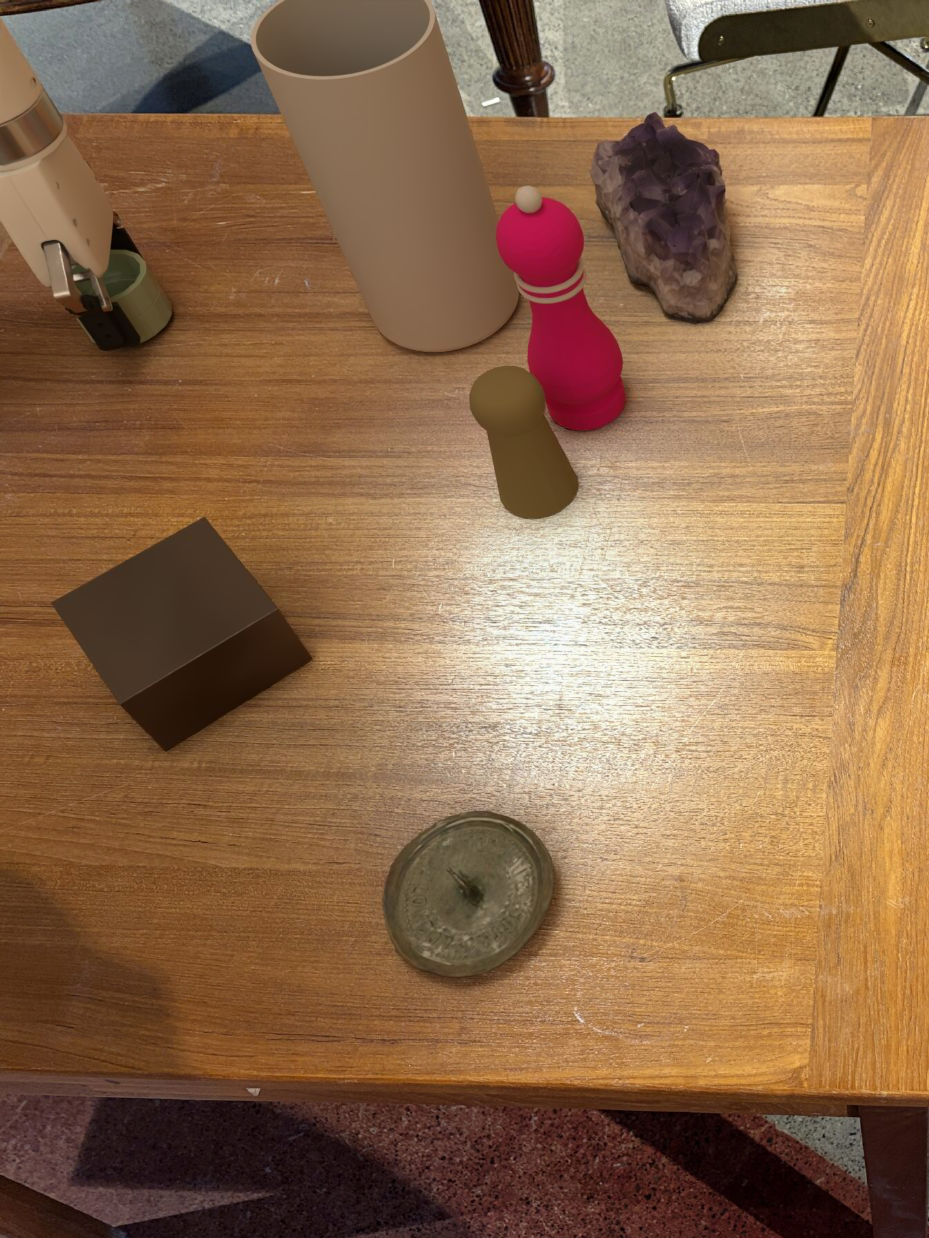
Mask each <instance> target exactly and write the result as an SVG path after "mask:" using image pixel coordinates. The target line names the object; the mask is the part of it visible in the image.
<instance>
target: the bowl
mask: <svg viewBox="0 0 929 1238" xmlns="http://www.w3.org/2000/svg"><path fill="white" fill-rule="evenodd" d="M142 257H143V256H142ZM142 257H141V256H140V255H139V254H137V253H134V252H131V251H128V250H110V255H109V262H108V267H107V270H106V271H105V273H104V275H103V276H102V278H103V280H104V283H105V286H106V289H107V291H108V294H109V297H110V300H111V303H112V302H118V304H119V305H120V307H121V308H122V310H123V311H124V313H125V314H126V316H127V317H128V319H129V320H130V322H131V323H132V325H133V326H134V328H135V329H136V331H137V332H138V334H139V335H140V337H141V339H140V344H142V343H144V342H147V341H149V340H151V339H152V338H154V337H155V336H156V335H157V334H159V333H160V332H161V331H162V330H163V329H164V328H165V327H166V326H167V325H168V323H169V321H170V320H171V317H172V315H173V308H172V302H171V301H170V300H169V298H168V296H167V294H166V293H165V292H164V290H163V287H161V285H160V283H159V282H158V280H157V278H156V277H155V275H154V273H153V272H152V270H151V269H150V266H149V265H148V263H147V262H146V260H145V259H144V260H145V261H144V260H143V258H144V257H143V258H142ZM71 267H72V273H73V274H74V273H80V272H85V271H89V269H85V268H84V267H83V266H81V265H75V266H71ZM75 285H76V287H77V289H78V290H79V291H81V294H82V295H86V294H88V295H92V296H96V294H95V291H94V289H93V286H92V283H91V280H89V281H84V282H79V283H75ZM74 319H75V320H76V322H77V323H78V325H79V327H80V328H81V329H82V331H83V332H84V333H85V335H86V336H87V337H88V339H89V340H90V341H91V342H92V343H93V344H96V343H95V341H94V340H93V338H92V337H91V336H90V334H89V333H88V331H87V330H86V329H85V327H84V326H83V324H82V323H81V322H80V320H79V319H78V318H75V317H74Z"/></svg>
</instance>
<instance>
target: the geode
mask: <svg viewBox="0 0 929 1238" xmlns="http://www.w3.org/2000/svg"><path fill="white" fill-rule="evenodd" d="M720 158H721V157H720V153H719V152H718V151H717V150H716V148H712V149H710V148H709V147H708V146H707V145H705V144H704V143H703V142H700V141H698V140H693V139H689V138H688V137H687V136H686V135H685V134H683V133H682V132H681V131H679V128H678V126H676V125H675V124H671V125H669V126H668V125H667V126H665V123H664V120H663V118H662V116H661V115H659V113H657V112H656V111H652V112H651V113H649V114H647V115H646V117H645V118H644V121H643V122H642V123H639V124H637V125H635V126H633V127H632V128H630V130H629V131H628V133H626V135H624V136H623V137H622V138H621V139H620V140H604V141H601V142H599V143H598V144H597V145H596V148H595V151H594V153H593V158H592V162H591V168H590V169H589V175H590V177H591V180H592V183H593V185H594V191H595V204H596V206H597V208H598V209H599V211H600V214H601V216H602V218H604V220H605V221H606V222H608V224H609V225H610V226H611V228H612V229H614V235H615V238H616V242H617V249H618V250H619V251H620V253H621V257H622V260H623V263H624V266H625V271H626V274H627V277H628V279H629V281H630V282H632V283H635V284H638V285H643V286H647V287H648V288H649V289H650V290H651V291H652V292H653V293H654V294H655V296H656V297H657V300H658V303H659V306H660V307H661V310H662V312H663V313H664V315H665V316H666V317H667V319H672V320H677V321H681V322H686V323H691V324H697V323H709V322H711V321H713V320H714V319H715V318H716V317H717V316H718V315H719V314H720V313H721V311H722V310H723V308H724V307H725V305H726V304H727V303H728V300H729V298H730V296H731V294H732V292H733V290H734V289H735V287H736V285H737V281H738V275H739V273H738V270H737V267H736V265H735V264H736V263H735V253H734V249H733V246H732V245H731V234H732V231H731V225H730V223H729V221H728V213H729V212H728V209H727V207H726V203H727V199H726V189H727V188H726V187H727V186H726V183H725V179H724V178H723V169H722V165H721V164H720V160H721V159H720Z"/></svg>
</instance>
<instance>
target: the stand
mask: <svg viewBox="0 0 929 1238" xmlns="http://www.w3.org/2000/svg"><path fill="white" fill-rule="evenodd" d="M50 604H51V606H52V607H53V608H54V610H55V611H56V613H57V615H58V616H59V618H60V619H61V620H62V622H63V623H64V625H65V626H66V628H67V630H68V631H69V632H70V634H71V635H72V637H73V638H74V640H75V641H76V643H77V644H78V646H79V647H80V648H81V650H82V652H83V653H84V654H85V656H86V657H87V659H88V661H89V662H90V663H91V665H92V667H94V670H95V671H96V672H97V674H98V675H99V677H100V678H101V680H102V681H103V682H104V684H105V686H106V687H107V689H108V690H109V691H110V693H111V695H112V696H113V698H114V699H115V701H116V702H117V704H118V705H119V706H120V707H121V708H122V709H123V710H124V711H125V713H127V714H128V715H129V716H130V717H131V718H132V719H133V720H134V721H135V723H136V724H137V725H139V727H141V729H143V731H144V732H145V733H146V734H147V735H148V736H149V737H150V738H151V739H152V740H153V741H154V742H155V743H156V744H157V745H158V746H159V747H160V748H161V749H162V750H163V751H164V752H167V751H169V750H171V749H172V748H174V747H176V746H177V745H179V744H180V743H182V742H183V741H185V740H187V739H188V738H190V737H191V736H193V735H195V734H197V733H198V732H199V731H201V730H203V729H204V728H206V727H208V726H209V725H211V724H212V723H214V722H216V721H218V720H219V719H220V718H222V717H223V716H225V715H227V714H229V713H231V712H232V711H233V710H235V709H236V708H238V707H239V706H241V705H242V704H244V703H247V701H249V700H250V699H253V698H254V697H255V696H257V695H258V694H260V693H262V692H264V691H265V690H267V689H268V688H270V687H272V686H273V685H274V684H276V683H277V682H279V681H281V680H282V679H284V678H286V677H287V676H289V675H290V674H292V673H294V672H295V671H297V670H299V669H300V668H301V667H303V666H306V665H307V664H308V663H310V662H311V661H313V660H314V657H313V656H312V654H311V653H310V652H309V650H308V649H307V648H306V646H305V644H304V643H303V641H302V640H301V639H300V637H299V635H298V634H297V632H295V630H294V628H293V626H291V624H290V623H289V621H288V620H287V619H286V617H285V616H284V614H283V613H282V611H281V610H280V608H279V607H278V606H277V605H276V603H275V602H274V601H273V600H272V598H271V597H270V596H269V594H268V593H267V592H266V591H265V590H264V588H263V587H262V586H261V585H260V583H259V582H258V581H257V580H256V578H255V577H254V576H253V575H252V573H251V572H250V571H249V570H248V568H247V567H246V566H245V564H244V563H242V561H241V560H240V559H239V557H238V556H237V555H236V554H235V552H234V551H233V550H232V549H231V547H230V546H229V544H227V542H226V541H225V540H224V538H223V536H221V535H220V533H219V532H218V531H217V530H216V528H215V527H214V526H213V525H212V524H211V522H210V521H209V520H208V519H207V518H206V516H203V517H201V518H199V519H197V520H196V521H194V522H192V523H190V524H189V525H187V526H185V527H183V528H181V529H180V530H178V531H176V532H174V533H172V534H171V535H168V536H167V537H165V538H163V539H162V540H160V541H158V542H156V543H155V544H152V545H151V546H150V547H147V548H146V549H144V550H142V551H140V552H138V553H137V554H135V555H133V556H132V557H129V558H128V559H125V560H124V561H122V562H120V563H119V564H117V565H115V566H114V567H112V568H110V569H108V570H106V571H105V572H102V573H100V574H99V575H98V576H96V577H94V578H92V579H91V580H89V581H87V582H85V583H83V584H81V585H80V586H78V587H76V588H74V589H73V590H70V591H69V592H67V593H65V594H64V595H62V596H60V597H58V598H56V599H54V600H53V601H51V602H50ZM218 718H219V719H218Z"/></svg>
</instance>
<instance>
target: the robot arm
mask: <svg viewBox="0 0 929 1238" xmlns="http://www.w3.org/2000/svg"><path fill="white" fill-rule="evenodd" d="M68 130H69V129H68V124H67V122H66V121H65V119H64V117H63V116H62V115H61V112H60V111H59V109H58V108H57V106H56V105H55V103H54V101H53V100H52V98H51V96H50V94H49V93H48V91H47V90H46V88H45V87H44V85H43V84H42V82H41V80H40V79H39V77H38V76H37V74H36V72H35V71H34V69H33V68H32V66H31V64H30V63H29V61H28V60H27V58H26V56H25V55H24V53H23V51H22V49H21V48H20V47H19V45H18V44H17V41H16V40H15V39H14V37H13V35H12V34H11V32H10V30H9V29H8V28H7V25H6V24H5V22H4V21H3V19H2V17H0V223H1V225H2V226H3V227H4V229H5V231H6V232H7V234H8V236H9V237H10V239H11V240H12V242H13V244H14V245H15V247H16V248H17V250H18V251H19V253H20V255H21V256H22V257H23V259H24V260H25V262H26V263H27V265H28V267H29V268H30V270H31V271H32V272H33V274H34V275H35V276H36V278H37V279H38V281H39V282H40V284H42V285H43V286H44V287H46V288H51V291H52V296H53V298H54V300H55V301H56V302H57V303H58V304H60V305H61V306H63V307H64V309H65V311H67V312H68V313H69V314H70V315H72V316H73V318H74V319H75V318H78V319H79V320H80V322H81V323H82V324H83V326H84V327H85V329H86V330H87V331H88V333H89V334H90V336H91V337H92V338H93V340H94V341H95V343H94V344H96V345H97V347H98V349H100V351H103V352H108V351H114V350H118V349H119V350H120V349H124V348H128V347H133V346H138V345H140V344H141V343H140V339H141V337H140V335H139V334H138V332H137V331H136V329H135V328H134V326H133V325H132V323H131V322H130V320H129V319H128V317H127V316H126V314H125V313H124V311H123V310H122V308H121V307H120V305H119V304H118V302H112V303H111V300H110V297H109V294H108V291H107V289H106V286H105V283H104V280H103V278H102V276H103V275H104V273H105V271H106V270H107V267H108V262H109V255H110V250H128V251H131V252H134V253H137V254H139V255H140V256H141V257H142V258H143V260H144V261H145V262H146V260H145V258H144V257H143V255H142V253H141V252H140V250H139V248H138V247H137V245H136V244H135V243H134V240H133V239H132V238H131V235H130V234H129V233H128V231H127V229H126V228H125V227H122V220H121V217H120V216H119V214H118V212H116V211H115V210H113V206H112V203H111V201H110V198H109V197H108V194H107V192H106V191H105V189H104V187H103V186H102V184H101V183H100V181H99V179H98V178H97V176H96V175H95V173H94V171H93V169H92V167H91V165H90V163H89V161H88V160H86V159H85V157H84V156H83V155H82V153H81V152H80V151H79V149H78V148H77V146H76V145H75V143H74V142H73V140H72V139H71V138H70V136H69V135H68ZM75 265H81V266H83V267H84V268H85V269H89V271H85V272H80V273H74V274H73V273H72V267H71V266H75ZM89 280H91V283H92V286H93V289H94V291H95V294H96V296H92V295H88V294H86V295H82V294H81V291H79V290H78V289H77V287H76V285H75V283H79V282H84V281H89Z"/></svg>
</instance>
